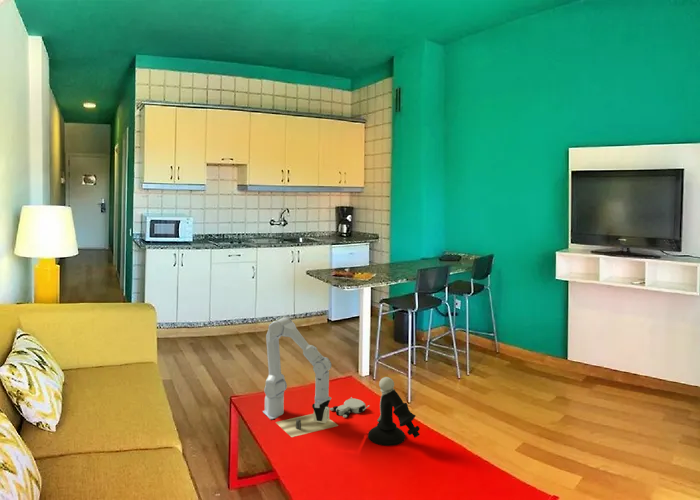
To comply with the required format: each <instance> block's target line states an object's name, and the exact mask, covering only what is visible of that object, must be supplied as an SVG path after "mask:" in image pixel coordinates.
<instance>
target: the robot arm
mask: <svg viewBox="0 0 700 500" xmlns="http://www.w3.org/2000/svg"><path fill="white" fill-rule="evenodd" d="M281 337H286V338H290V339H291V340H293V342H294V343H295V345H296V344H297V345H298V346H299V348H300V349H301V350H302V355H303V356H304V358H306V360H308V362H309V363H310V365H311V366H312V369H313V372H314V374H315V379H314V382H315V385H314V387H315V389H314V394H315V395H314V403H313V404H312V406H311V407H312V409H313V412H314V411H315V414H316V419H317V421H322V419H323V413H324V409H325V407H326V406H327V407H329V405H330V402H331V400H332V397H331V396H330V395H329V393H330V392H329V391H330V389H329V388H330V369H332V362H331V360H330V359H329V357H327V356H326V357H325V356H324V355H322V353H321V352H320V351H319V350H318V347H317V346H314V344H309V342H308V341H307V340H306V338H305V337H304V336H303V335H302V334H301V332H300V331H299V330H298V328H297V326H296V323H295V322H293V320H292V318H290V317H288V316H284V317H282V318H280V319H279V318H278V319H277V320H274V321H272V322H271V323H269V325H268V329H267V332H266V334H265V339H266V341H265V342H266V353H267V354H266V356H267V366H268V367H267V368H268V376H267V377H266V380H265V386H264V389H263V391H264V392H263V393H264V394H265V396H264V410H262V413H263V414H264V415H266V417H267V418H268V419H269V420H274V419H277V418H279V417H280V416H282V415H283V414H284V412H285V411H284V408H285V407H284V406H285V405H284V404H285V402H284V401H285V391H286V390H287V387H288V384H287V382H286V378H285V375H284V374H283V373H282V367H281V364H282V363H281V353H280V338H281Z"/></svg>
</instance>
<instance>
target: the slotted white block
mask: <svg viewBox="0 0 700 500" xmlns="http://www.w3.org/2000/svg"><path fill="white" fill-rule="evenodd" d="M313 414H314V420H313V422H320V423H326V422H327V420H328V419H330V406H328V407H327V406H326V407H325V409H324V413H323V419H322V421H317V419H316V414H315V411H314V410H313Z"/></svg>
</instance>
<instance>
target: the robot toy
mask: <svg viewBox="0 0 700 500" xmlns="http://www.w3.org/2000/svg"><path fill="white" fill-rule="evenodd" d="M369 407H370V404H369V405H366V403H365V402H364V401H363V400H361V399H358V398H353V397H352V396H351V397H350V398H348V399H346V400H345V401H344V402H343V404H341V405H339V406H338V405H335V406H333V407H329V411H330V412H332V411H333V412H335V414H336V416H342V418H348V417H349V416H350V414H351V413H352V414H361V413H363V412H365V410H366V409H367V408H369Z"/></svg>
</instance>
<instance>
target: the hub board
mask: <svg viewBox="0 0 700 500" xmlns="http://www.w3.org/2000/svg"><path fill="white" fill-rule="evenodd" d="M313 420H314V413H309V414H305V415H302V416H301V415H300V416H297V417H293V418H292V417H291V418H289V419H283V420H280V421H278V420H277V421H275V424H276V425H278V426H279V427H280V428H281V430H282V431H284V432H285V433H286V434H287V435H288V436H290V438H294V437H298V436H302V435H303V436H304V435H307V434H310V433H314V432H318V431H323V430H326V429H331V428H334V427H338V426H339V424H337V423H336V422H335V421H333V420H332V419H330V418H329V419H328V420H327V422H326V423H320V422H313Z"/></svg>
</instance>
